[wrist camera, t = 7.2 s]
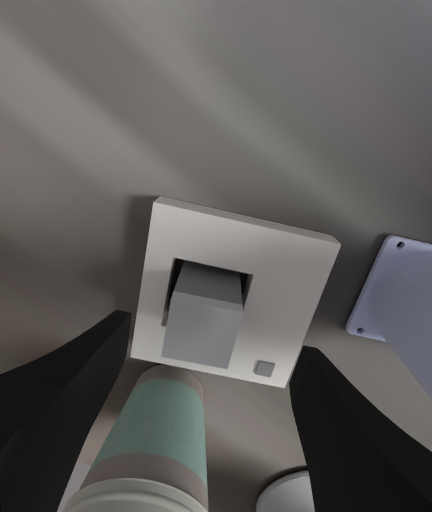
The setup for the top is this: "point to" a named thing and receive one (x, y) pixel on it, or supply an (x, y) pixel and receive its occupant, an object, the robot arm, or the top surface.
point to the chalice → (287, 495)
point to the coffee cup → (152, 450)
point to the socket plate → (255, 291)
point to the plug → (204, 315)
